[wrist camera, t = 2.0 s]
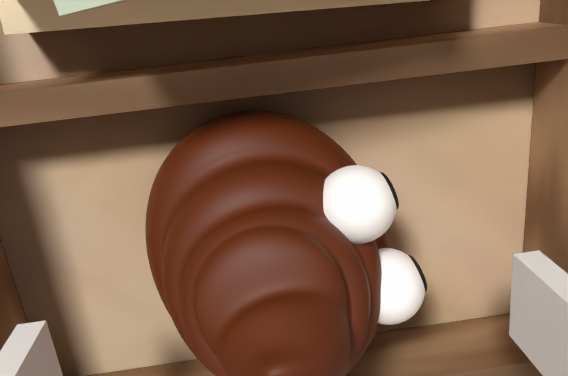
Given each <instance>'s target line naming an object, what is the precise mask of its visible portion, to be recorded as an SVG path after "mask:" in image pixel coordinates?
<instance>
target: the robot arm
mask: <svg viewBox="0 0 568 376" xmlns="http://www.w3.org/2000/svg"><path fill="white" fill-rule="evenodd" d="M509 336H510V337H511V338H512V339H513V340H514V342H515V343H516V344H517V345H518V346H519V348H520V349H521V350H522V351H523V352H524V354H525V355H526V356H527V357H528V358H529V360H530V361H531V362H532V363H533V364H534V366H535V367H536V368H537V369H538V370H539V372H540V373H541V374H542V375H543V376H568V274H567V273H566V272H565V271H564V270H563V269H561V268H560V267H559V266H558V265H556V264H555V263H554V262H553V261H552V260H550V259H549V258H548V257H547V256H545V255H544V254H543V253H542V252H541V251H539V250H538V251H531V252H524V253H517V254H513V268H512V287H511V305H510V324H509ZM0 376H63V374H62V371H61V368H60V364H59V361H58V358H57V355H56V351H55V348H54V345H53V341H52V338H51V335H50V332H49V328H48V325H47V322H46V321H39V322H31V323H24V324H17V326H16V327H15V329H14V330H13V332H12V334H11V335H10V337H9V338H8V340H7V341H6V343H5V344H4V346H3V347H2V349H1V351H0Z"/></svg>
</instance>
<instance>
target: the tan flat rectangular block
mask: <svg viewBox="0 0 568 376" xmlns="http://www.w3.org/2000/svg"><path fill="white" fill-rule="evenodd" d="M415 1H428V0H126V1H122V2H118V3H114V4H111V5H107V6H103V7H99V8H95V9H91V10H87V11H82V12H77V13H72V14H67V15H62V16H59V14H58V11H57V8H56V6H55V3H54V0H0V19H1V23H2V27H3V31H4V35H7V34H19V33H32V32H44V31H57V30H69V29H81V28H94V27H106V26H118V25H131V24H143V23H156V22H168V21H180V20H193V19H205V18H217V17H230V16H242V15H255V14H267V13H279V12H292V11H304V10H316V9H329V8H341V7H354V6H366V5H378V4H391V3H403V2H415Z"/></svg>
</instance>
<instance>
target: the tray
mask: <svg viewBox="0 0 568 376" xmlns="http://www.w3.org/2000/svg"><path fill="white" fill-rule="evenodd" d="M529 63H536V75H535V89H534V104H533V118H532V132H531V146H530V160H529V174H528V189H527V203H526V217H525V231H524V245H523V253H524V252H531V251H538V250H539V251H541V252H542V253H543V254H544V255H545V256H547V257H548V258H549V259H550V260H552V261H553V262H554V263H555V264H556V265H558V266H559V267H560V268H561V269H563V270H564V271H565V272H566V273H567V274H568V0H541V4H540V19H539V22H536V23H527V24H518V25H510V26H501V27H493V28H484V29H475V30H467V31H458V32H450V33H441V34H432V35H424V36H415V37H407V38H398V39H389V40H381V41H372V42H363V43H355V44H346V45H338V46H329V47H320V48H312V49H303V50H295V51H286V52H277V53H269V54H260V55H252V56H243V57H234V58H226V59H217V60H209V61H200V62H191V63H183V64H174V65H165V66H157V67H148V68H140V69H131V70H122V71H114V72H105V73H97V74H88V75H79V76H71V77H62V78H54V79H45V80H36V81H28V82H19V83H11V84H2V85H0V127H6V126H14V125H22V124H31V123H39V122H47V121H56V120H64V119H72V118H81V117H89V116H97V115H105V114H114V113H122V112H130V111H139V110H147V109H155V108H164V107H172V106H180V105H189V104H197V103H205V102H213V101H222V100H230V99H238V98H247V97H255V96H263V95H272V94H280V93H288V92H296V91H305V90H313V89H321V88H330V87H338V86H346V85H355V84H363V83H371V82H379V81H388V80H396V79H404V78H413V77H421V76H429V75H438V74H446V73H454V72H462V71H471V70H479V69H487V68H496V67H504V66H512V65H521V64H529ZM24 323H27V320H26V317H25V314H24V311H23V308H22V305H21V301H20V298H19V295H18V292H17V289H16V286H15V283H14V280H13V277H12V274H11V271H10V268H9V265H8V262H7V259H6V256H5V253H4V250H3V247H2V244H1V241H0V351H1V349H2V347H3V346H4V344H5V343H6V341H7V340H8V338H9V337H10V335H11V334H12V332H13V330H14V329H15V327H16V326H17V324H24ZM509 324H510V314H504V315H497V316H490V317H483V318H477V319H470V320H463V321H456V322H449V323H443V324H436V325H429V326H422V327H415V328H408V329H402V330H395V331H388V332H381V333H376V334H375V336H374V337H373V339H372V341H371V343H370V344H369V346H368V347H367V349H366V350H365V352H364V353H363V355H362V356H361V358H360V359H359V360H358V362H357V363H356V364H355V365H354V366H353V368H352V369H351V370H350V371H349V372H348V373H347V374H346V375H344V376H543V375H542V374H541V373H540V372H539V370H538V369H537V368H536V367H535V366H534V364H533V363H532V362H531V361H530V360H529V358H528V357H527V356H526V355H525V354H524V352H523V351H522V350H521V349H520V348H519V346H518V345H517V344H516V343H515V342H514V340H513V339H512V338H511V337H510V336H509ZM88 376H215V375H214V374H213V373H211V372H210V371H209V370H208V369H207V368H206V367H205V366H204V365H203V364H202V363H201V362H200V361H199V360H198V359H197V360H191V361H184V362H177V363H170V364H163V365H156V366H150V367H143V368H136V369H129V370H122V371H116V372H109V373H102V374H95V375H88Z"/></svg>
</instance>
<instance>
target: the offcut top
mask: <svg viewBox="0 0 568 376" xmlns="http://www.w3.org/2000/svg"><path fill="white" fill-rule="evenodd" d="M122 1H126V0H54V3H55V6H56V8H57V11H58V14H59V16H62V15H67V14H72V13H77V12H82V11H87V10H91V9H95V8H99V7H103V6H107V5H111V4H114V3H118V2H122Z"/></svg>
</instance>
